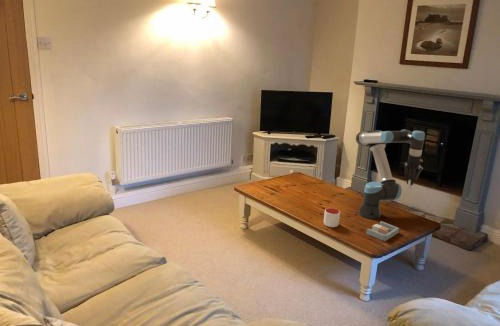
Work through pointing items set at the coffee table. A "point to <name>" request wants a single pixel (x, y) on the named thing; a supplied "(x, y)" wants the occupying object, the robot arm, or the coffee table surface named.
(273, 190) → the coffee table surface
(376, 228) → the tile rear
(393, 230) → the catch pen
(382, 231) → the tile front
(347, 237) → the coffee table surface
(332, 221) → the cup
